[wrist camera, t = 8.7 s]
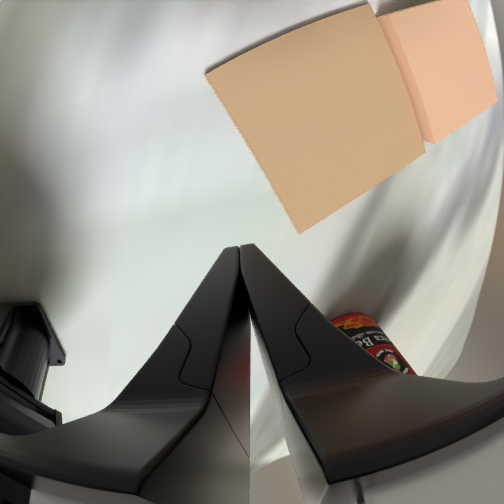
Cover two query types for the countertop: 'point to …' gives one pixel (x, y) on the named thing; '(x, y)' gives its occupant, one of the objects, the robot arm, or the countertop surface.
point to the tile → (441, 64)
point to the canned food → (372, 340)
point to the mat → (322, 112)
